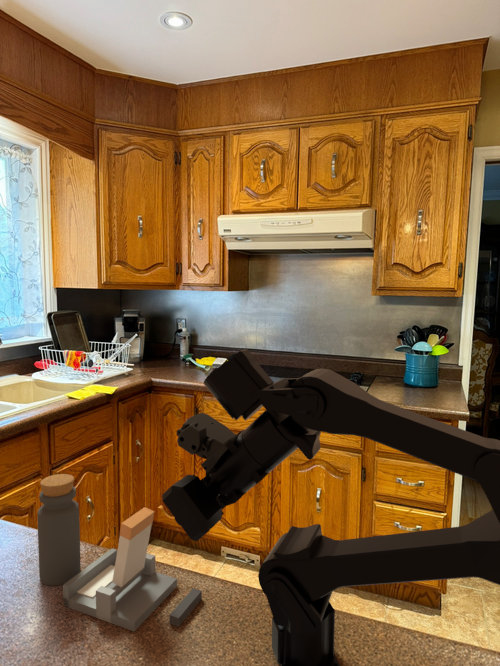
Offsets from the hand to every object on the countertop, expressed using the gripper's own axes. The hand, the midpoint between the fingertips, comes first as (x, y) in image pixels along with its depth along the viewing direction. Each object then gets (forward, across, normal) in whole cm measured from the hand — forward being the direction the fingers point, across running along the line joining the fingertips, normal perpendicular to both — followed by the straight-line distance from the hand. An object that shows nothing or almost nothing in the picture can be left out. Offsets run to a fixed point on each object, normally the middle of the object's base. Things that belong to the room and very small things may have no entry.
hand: (181, 518), depth 60 cm
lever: (+14, 0, +1) cm, 14 cm away
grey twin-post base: (+16, 0, +3) cm, 16 cm away
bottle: (+25, 0, -6) cm, 26 cm away
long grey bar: (+10, -1, +10) cm, 14 cm away
